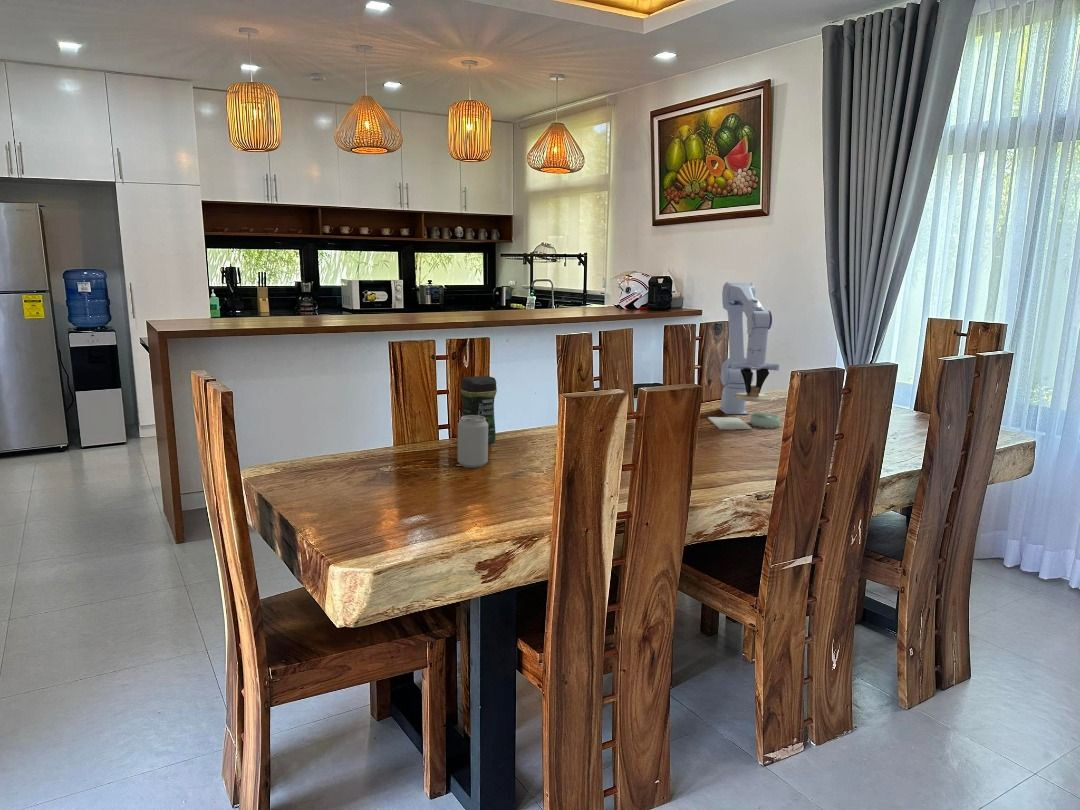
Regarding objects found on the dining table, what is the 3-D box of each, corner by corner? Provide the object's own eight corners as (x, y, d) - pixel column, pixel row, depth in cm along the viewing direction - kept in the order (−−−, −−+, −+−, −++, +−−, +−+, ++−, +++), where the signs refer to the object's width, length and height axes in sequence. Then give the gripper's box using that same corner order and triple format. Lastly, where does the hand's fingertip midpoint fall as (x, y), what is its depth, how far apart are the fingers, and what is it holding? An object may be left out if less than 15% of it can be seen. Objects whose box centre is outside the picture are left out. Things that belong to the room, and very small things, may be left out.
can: (451, 463, 182) (451, 416, 179) (473, 458, 187) (474, 412, 184) (471, 470, 177) (471, 422, 174) (494, 464, 182) (494, 417, 180)
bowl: (746, 421, 237) (747, 412, 237) (773, 421, 238) (774, 412, 237) (755, 427, 228) (756, 418, 228) (783, 428, 229) (784, 419, 228)
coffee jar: (470, 448, 196) (470, 380, 192) (455, 441, 202) (455, 375, 198) (500, 443, 202) (501, 377, 198) (485, 437, 208) (486, 372, 204)
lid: (729, 394, 236) (730, 383, 235) (763, 395, 237) (764, 383, 236) (740, 401, 225) (742, 389, 225) (775, 402, 226) (777, 390, 225)
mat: (707, 418, 239) (707, 417, 239) (737, 419, 240) (738, 417, 239) (719, 429, 225) (720, 427, 225) (751, 429, 226) (752, 427, 226)
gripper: (738, 350, 223) (734, 394, 226) (784, 351, 224) (780, 395, 227) (730, 347, 230) (727, 390, 233) (775, 348, 231) (771, 390, 234)
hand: (752, 392), depth 231 cm, fingers closed on lid, 2 cm apart
